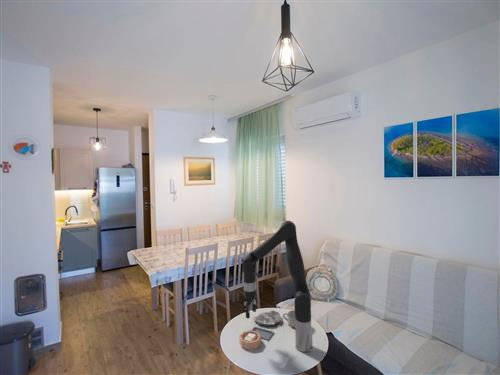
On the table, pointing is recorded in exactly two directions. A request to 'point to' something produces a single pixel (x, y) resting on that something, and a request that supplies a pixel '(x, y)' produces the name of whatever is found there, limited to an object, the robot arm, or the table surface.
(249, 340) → the stone
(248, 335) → the stone
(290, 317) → the teacup
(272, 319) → the brain slice
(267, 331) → the tray
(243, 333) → the bowl
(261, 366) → the table surface
